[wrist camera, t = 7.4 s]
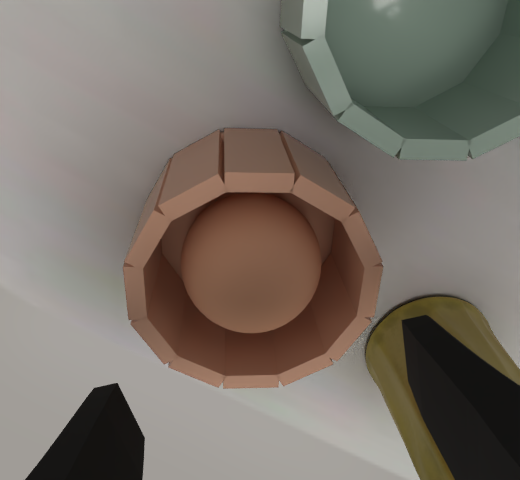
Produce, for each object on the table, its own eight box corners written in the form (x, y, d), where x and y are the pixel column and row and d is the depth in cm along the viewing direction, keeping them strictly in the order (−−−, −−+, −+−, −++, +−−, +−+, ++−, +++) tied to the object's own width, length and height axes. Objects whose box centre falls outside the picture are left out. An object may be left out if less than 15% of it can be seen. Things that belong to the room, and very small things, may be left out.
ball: (226, 148, 18) (229, 200, 13) (333, 212, 19) (367, 277, 15) (163, 250, 19) (146, 326, 15) (265, 301, 21) (277, 384, 17)
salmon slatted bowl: (210, 86, 17) (205, 118, 13) (384, 194, 20) (431, 252, 15) (113, 258, 20) (83, 332, 16) (276, 333, 23) (289, 416, 18)
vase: (344, 377, 24) (477, 799, 12) (399, 279, 22) (648, 680, 9) (446, 401, 25) (668, 803, 13) (510, 311, 23) (863, 701, 10)
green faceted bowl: (383, -223, 14) (460, -326, 9) (569, -44, 16) (701, -58, 12) (235, 40, 17) (240, 57, 12) (412, 158, 19) (470, 208, 15)
